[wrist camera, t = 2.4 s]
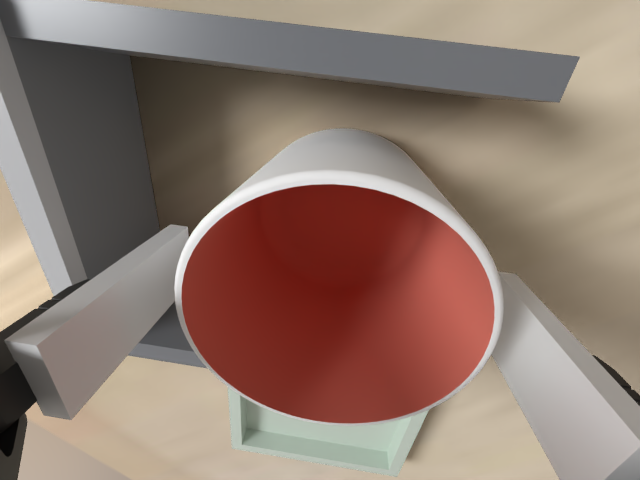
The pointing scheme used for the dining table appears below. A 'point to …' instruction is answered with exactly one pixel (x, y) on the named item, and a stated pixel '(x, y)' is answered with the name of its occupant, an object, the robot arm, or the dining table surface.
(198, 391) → the dining table surface
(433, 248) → the cup
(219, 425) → the dining table surface
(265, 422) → the tray
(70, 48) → the bay
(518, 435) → the dining table surface
